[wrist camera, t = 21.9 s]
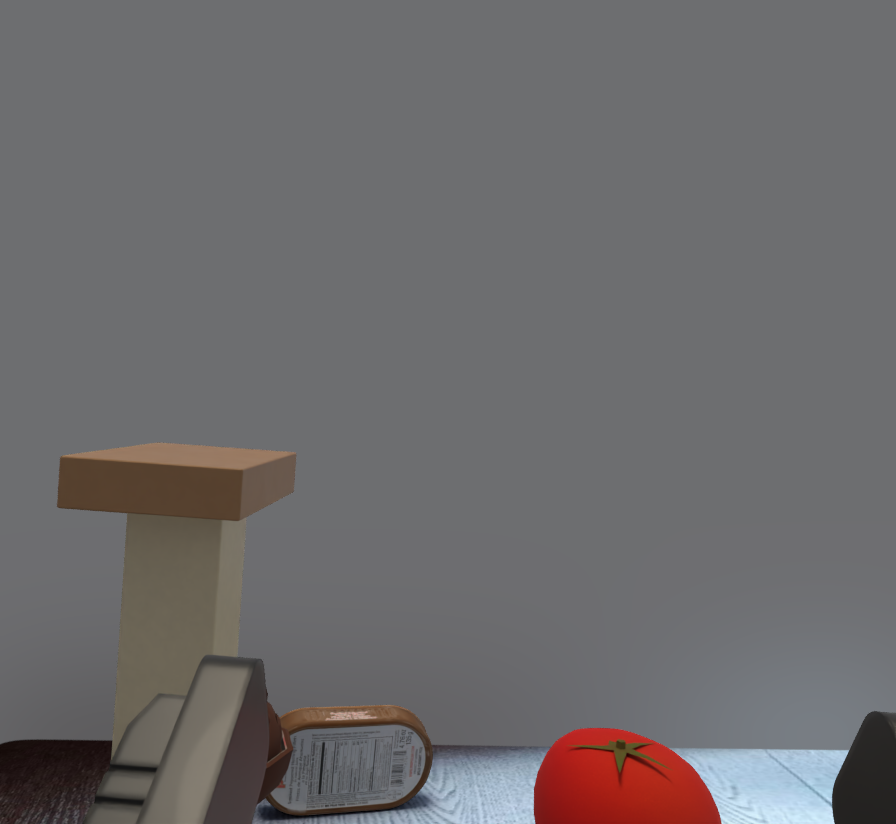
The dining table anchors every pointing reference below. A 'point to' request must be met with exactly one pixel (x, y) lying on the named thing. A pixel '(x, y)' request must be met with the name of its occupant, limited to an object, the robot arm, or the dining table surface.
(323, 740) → the tin
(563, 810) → the tomato
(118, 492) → the stand
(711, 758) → the dining table surface
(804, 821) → the dining table surface
